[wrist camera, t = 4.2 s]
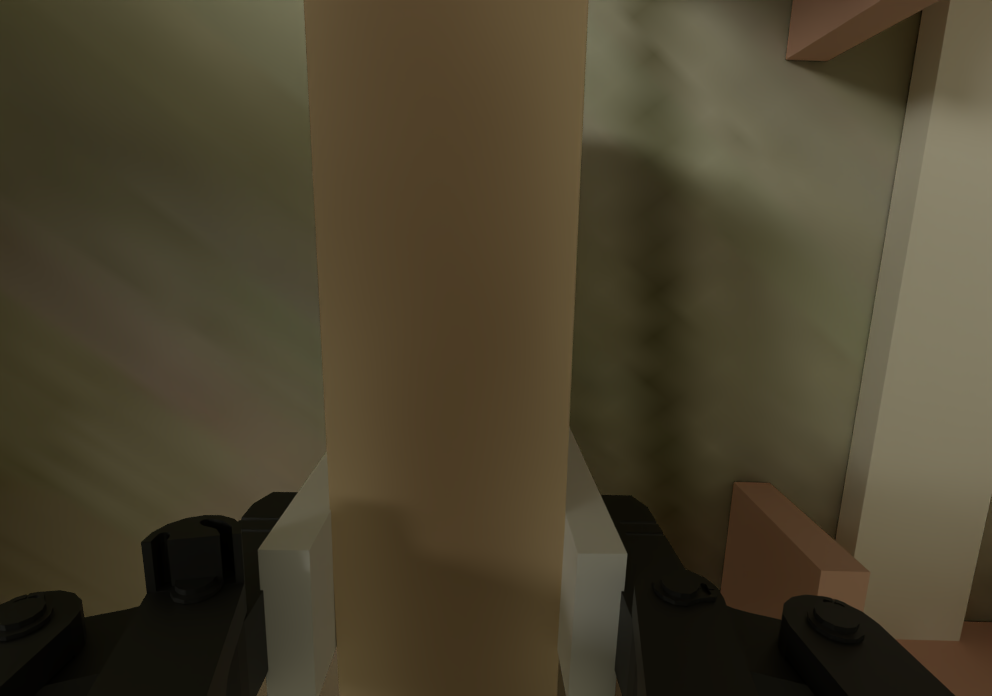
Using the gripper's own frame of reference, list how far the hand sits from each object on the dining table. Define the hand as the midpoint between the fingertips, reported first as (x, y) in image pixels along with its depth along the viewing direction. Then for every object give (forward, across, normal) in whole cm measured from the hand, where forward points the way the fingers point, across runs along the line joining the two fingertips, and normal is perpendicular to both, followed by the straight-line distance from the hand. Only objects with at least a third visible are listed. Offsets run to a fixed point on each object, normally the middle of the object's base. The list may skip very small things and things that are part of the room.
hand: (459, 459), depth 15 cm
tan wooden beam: (+1, 0, 0) cm, 1 cm away
